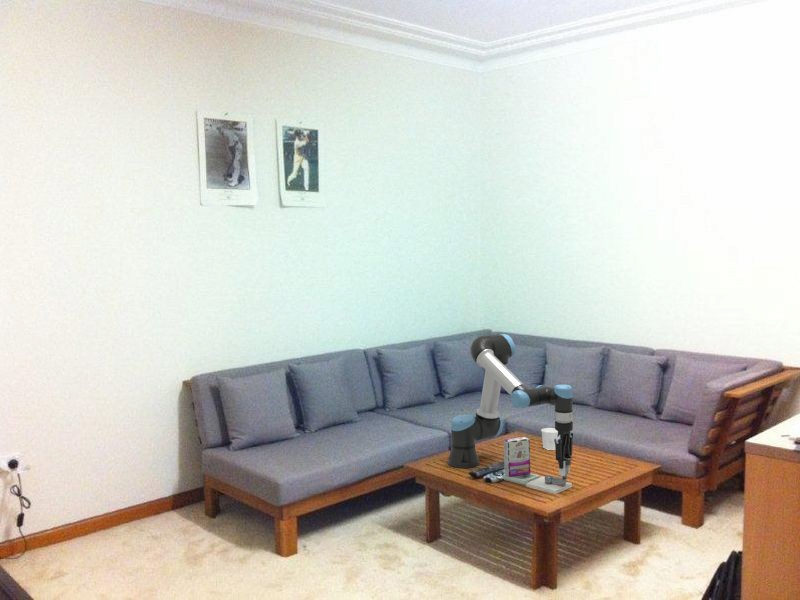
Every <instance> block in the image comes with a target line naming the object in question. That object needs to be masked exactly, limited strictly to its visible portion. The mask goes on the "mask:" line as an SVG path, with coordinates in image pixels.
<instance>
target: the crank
mask: <svg viewBox="0 0 800 600" xmlns="http://www.w3.org/2000/svg"><path fill="white" fill-rule="evenodd" d="M571 459H572V458H571ZM571 459H570V458H569V459H564V461H565V476H561V477H559V476H553V475H545V476H544V477H545V483H547V484H552V483H553V484H560V485H566V482H567V479H568V474H567V465H569V466H571V465H572V460H571ZM557 464H558V465H559V461H558V460H557Z"/></svg>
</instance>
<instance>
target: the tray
mask: <svg viewBox="0 0 800 600" xmlns="http://www.w3.org/2000/svg"><path fill="white" fill-rule="evenodd" d="M498 475H500V476H502V477H503V479H504V480H503V481H505V482H510V483H513V484H514V483H515V484H517V485H521V486H525V487H526V483H528V482H530V481H533V480H535V479H538V478H540V477H541V476H540V475H539V474H537V473H536V474H534V473H531V472H530V474H527V475H521V476H514V477H508V476H506V475H502V474H498Z"/></svg>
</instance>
